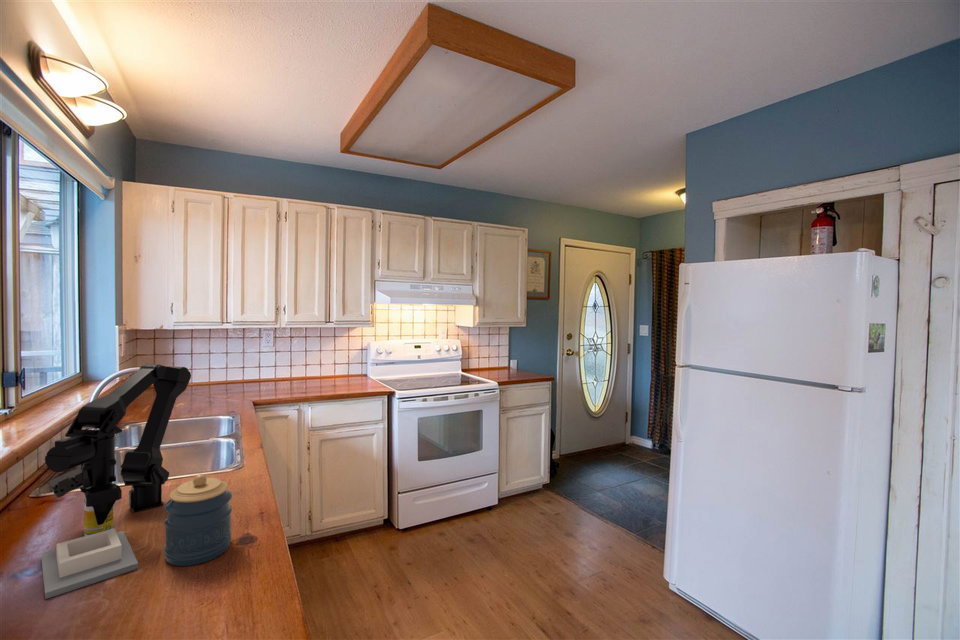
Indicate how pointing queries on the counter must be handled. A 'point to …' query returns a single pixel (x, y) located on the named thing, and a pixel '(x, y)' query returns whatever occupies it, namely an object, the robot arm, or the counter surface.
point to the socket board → (86, 561)
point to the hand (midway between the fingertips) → (98, 519)
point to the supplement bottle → (91, 522)
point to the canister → (197, 521)
